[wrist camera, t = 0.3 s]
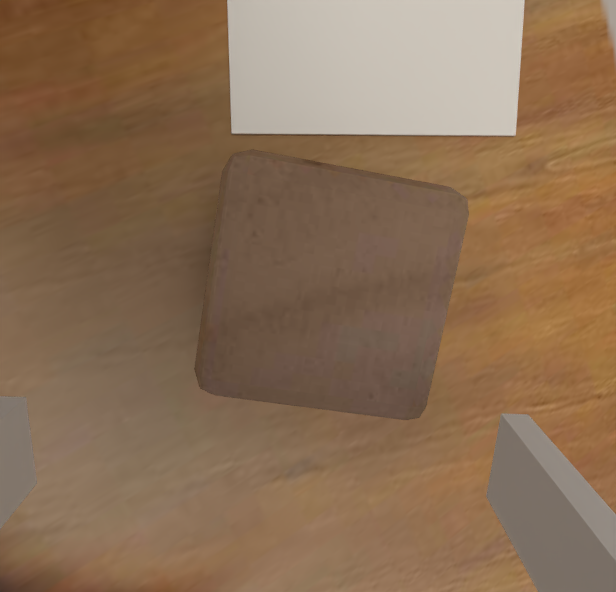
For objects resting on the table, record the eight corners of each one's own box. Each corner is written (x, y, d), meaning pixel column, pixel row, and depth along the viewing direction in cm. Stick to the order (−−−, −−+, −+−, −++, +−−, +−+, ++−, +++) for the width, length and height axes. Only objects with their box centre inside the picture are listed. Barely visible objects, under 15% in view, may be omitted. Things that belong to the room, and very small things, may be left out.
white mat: (224, -106, 34) (223, -110, 33) (527, -92, 35) (530, -95, 35) (232, 134, 36) (231, 133, 36) (512, 136, 38) (515, 135, 38)
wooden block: (245, 177, 37) (223, 141, 17) (372, 200, 38) (484, 190, 19) (227, 304, 39) (187, 401, 19) (349, 323, 40) (430, 432, 20)
